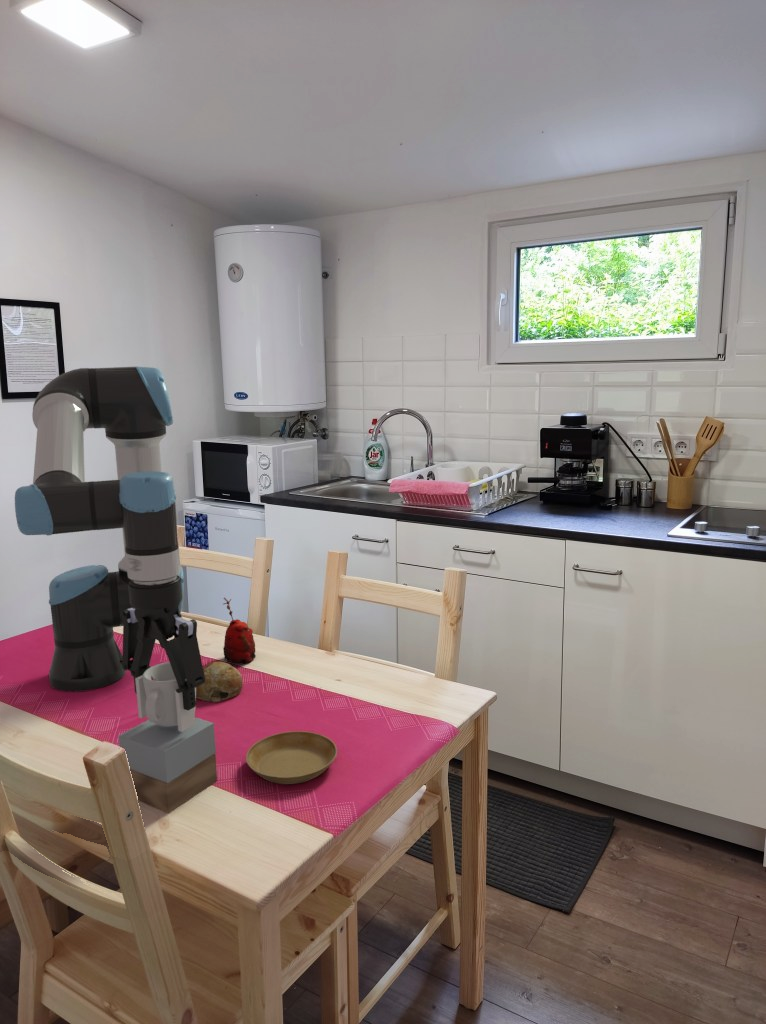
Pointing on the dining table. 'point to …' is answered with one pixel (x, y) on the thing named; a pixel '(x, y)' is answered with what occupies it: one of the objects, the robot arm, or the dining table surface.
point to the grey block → (167, 748)
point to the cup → (161, 695)
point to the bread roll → (219, 682)
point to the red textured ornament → (238, 641)
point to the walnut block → (175, 786)
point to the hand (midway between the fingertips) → (166, 720)
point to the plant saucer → (291, 756)
